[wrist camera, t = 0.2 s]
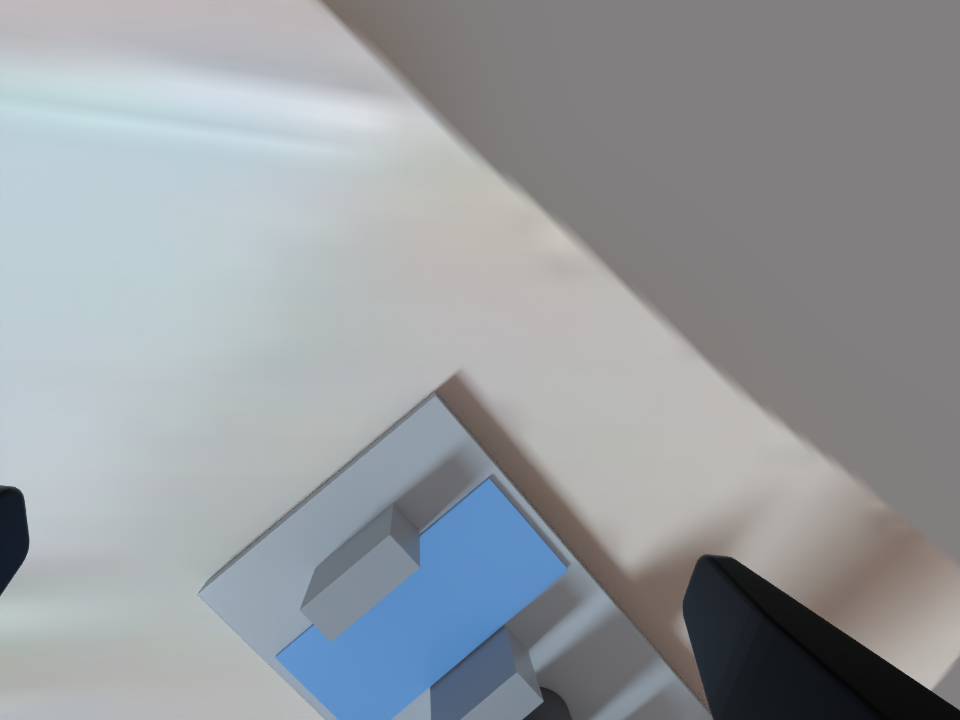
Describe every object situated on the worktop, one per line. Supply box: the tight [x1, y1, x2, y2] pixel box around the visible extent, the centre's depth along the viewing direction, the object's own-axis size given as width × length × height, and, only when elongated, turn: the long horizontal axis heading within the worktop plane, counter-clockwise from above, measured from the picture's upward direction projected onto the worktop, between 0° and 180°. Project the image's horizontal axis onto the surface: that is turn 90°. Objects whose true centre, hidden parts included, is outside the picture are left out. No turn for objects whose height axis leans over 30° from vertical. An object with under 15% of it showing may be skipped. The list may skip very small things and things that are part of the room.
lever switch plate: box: [197, 392, 713, 720], centre depth 22 cm, size 12×20×4 cm, turn 39°
